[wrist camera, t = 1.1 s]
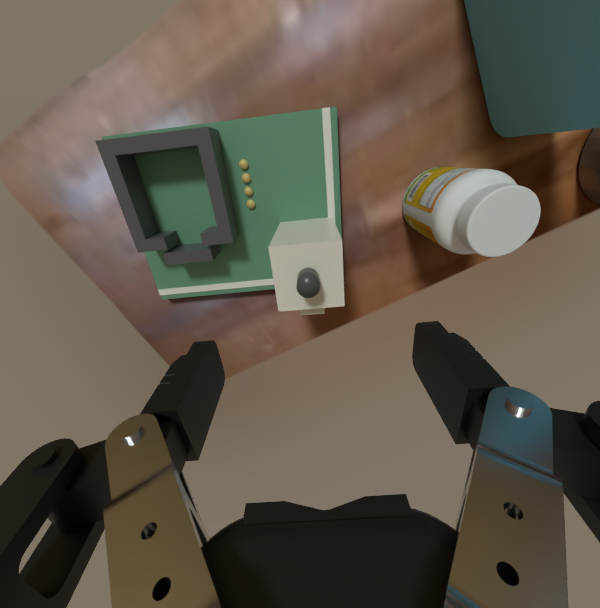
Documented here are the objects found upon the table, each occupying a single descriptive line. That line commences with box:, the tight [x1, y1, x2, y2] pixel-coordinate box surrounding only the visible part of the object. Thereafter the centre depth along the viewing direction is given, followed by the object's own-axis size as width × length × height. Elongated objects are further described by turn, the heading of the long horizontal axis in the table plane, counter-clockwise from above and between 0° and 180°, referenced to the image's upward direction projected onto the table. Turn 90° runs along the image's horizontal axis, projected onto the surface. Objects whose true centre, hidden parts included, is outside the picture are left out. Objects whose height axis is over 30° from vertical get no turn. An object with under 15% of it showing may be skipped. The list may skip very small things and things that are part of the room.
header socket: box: [96, 127, 255, 265], centre depth 22 cm, size 10×9×2 cm
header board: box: [102, 107, 342, 300], centre depth 24 cm, size 18×14×1 cm
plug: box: [268, 217, 345, 316], centre depth 21 cm, size 4×6×10 cm
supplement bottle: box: [402, 167, 541, 257], centre depth 20 cm, size 5×5×10 cm
